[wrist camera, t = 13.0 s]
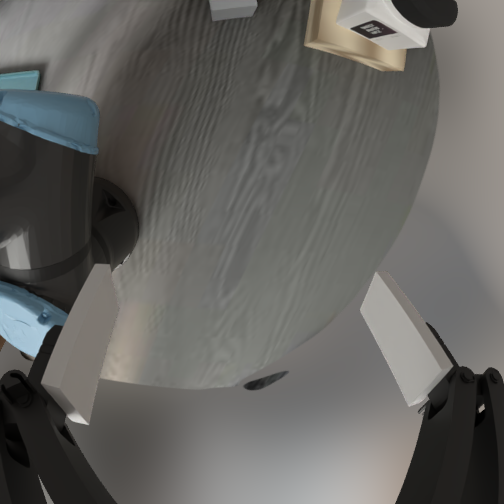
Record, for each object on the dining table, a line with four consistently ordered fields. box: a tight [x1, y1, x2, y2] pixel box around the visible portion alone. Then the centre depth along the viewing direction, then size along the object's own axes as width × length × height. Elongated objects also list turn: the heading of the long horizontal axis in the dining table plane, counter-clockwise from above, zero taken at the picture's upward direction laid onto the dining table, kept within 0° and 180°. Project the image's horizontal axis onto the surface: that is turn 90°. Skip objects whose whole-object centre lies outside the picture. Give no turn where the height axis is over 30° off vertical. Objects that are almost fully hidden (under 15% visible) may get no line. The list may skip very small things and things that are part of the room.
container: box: [336, 0, 458, 50], centre depth 16 cm, size 8×8×13 cm
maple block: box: [304, 0, 407, 71], centre depth 24 cm, size 12×12×6 cm
